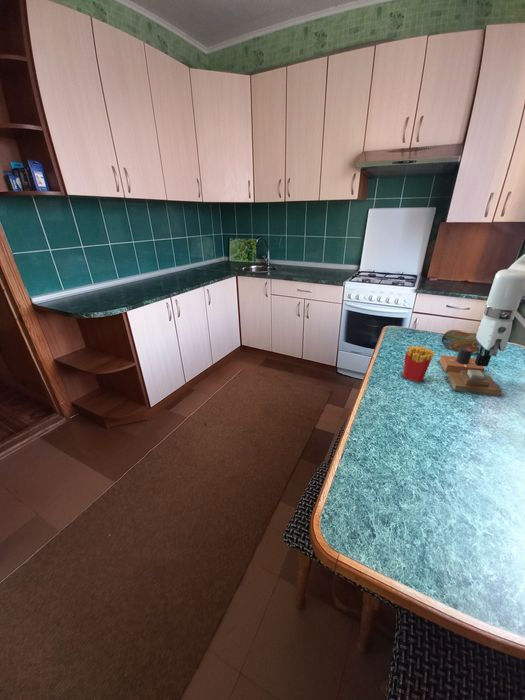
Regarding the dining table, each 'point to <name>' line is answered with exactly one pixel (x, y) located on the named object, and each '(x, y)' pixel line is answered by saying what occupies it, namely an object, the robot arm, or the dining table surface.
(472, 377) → the key
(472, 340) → the tin
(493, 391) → the stepped nested square plaque
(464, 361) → the volume knob
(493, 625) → the dining table surface
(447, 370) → the volume box
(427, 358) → the french fries
